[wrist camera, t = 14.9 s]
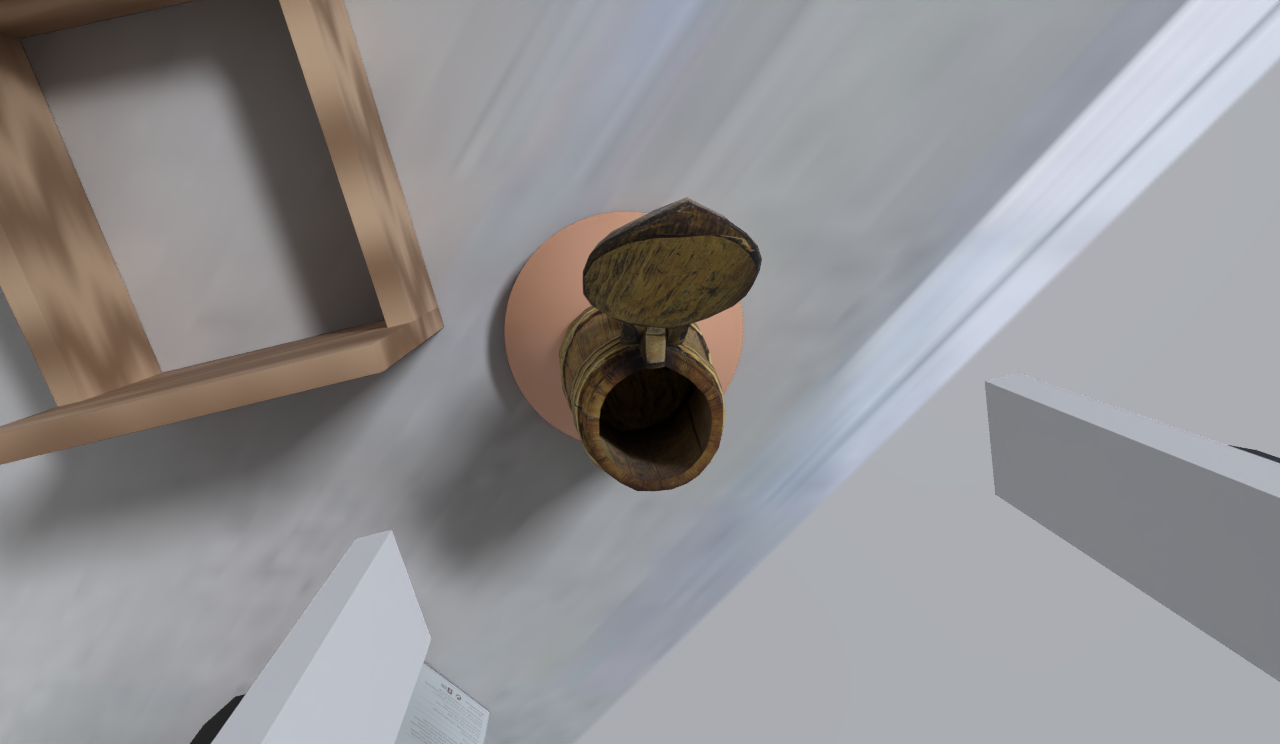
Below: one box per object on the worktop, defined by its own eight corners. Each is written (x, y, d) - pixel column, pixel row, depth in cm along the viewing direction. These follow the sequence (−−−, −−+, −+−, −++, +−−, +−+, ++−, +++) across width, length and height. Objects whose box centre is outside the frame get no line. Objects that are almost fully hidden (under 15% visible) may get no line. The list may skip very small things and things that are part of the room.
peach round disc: (478, 243, 36) (474, 243, 35) (712, 187, 37) (718, 186, 36) (541, 463, 40) (540, 473, 38) (755, 410, 40) (762, 417, 39)
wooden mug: (714, 212, 36) (843, 198, 18) (706, 439, 39) (811, 612, 21) (555, 210, 35) (533, 194, 18) (560, 442, 38) (545, 626, 21)
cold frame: (-16, 18, 32) (-360, -102, 20) (326, -56, 32) (184, -214, 21) (149, 397, 37) (-50, 476, 25) (444, 326, 37) (382, 372, 26)
